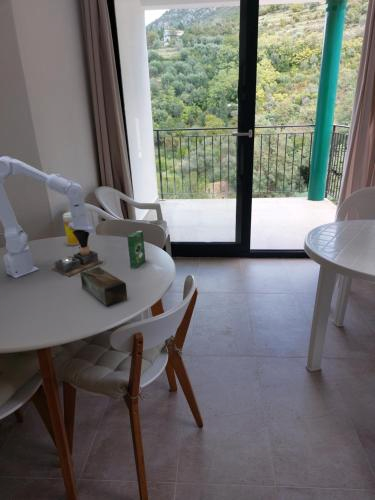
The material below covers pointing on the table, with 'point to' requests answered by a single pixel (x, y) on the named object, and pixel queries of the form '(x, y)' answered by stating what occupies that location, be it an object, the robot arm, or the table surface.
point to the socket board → (77, 264)
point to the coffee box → (136, 248)
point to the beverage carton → (103, 286)
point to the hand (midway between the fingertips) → (84, 246)
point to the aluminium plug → (67, 260)
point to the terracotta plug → (84, 251)
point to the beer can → (69, 230)
